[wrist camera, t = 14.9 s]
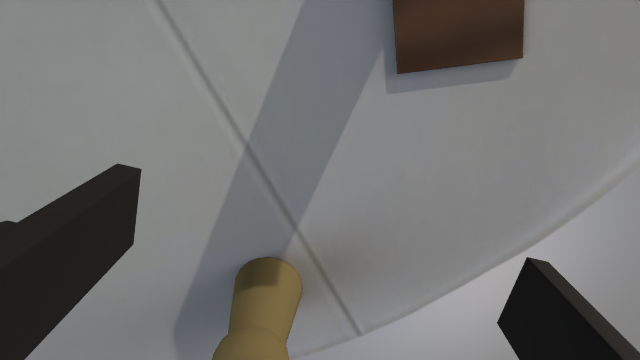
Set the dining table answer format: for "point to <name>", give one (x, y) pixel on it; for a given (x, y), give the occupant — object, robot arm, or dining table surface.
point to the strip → (456, 32)
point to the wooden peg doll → (261, 311)
